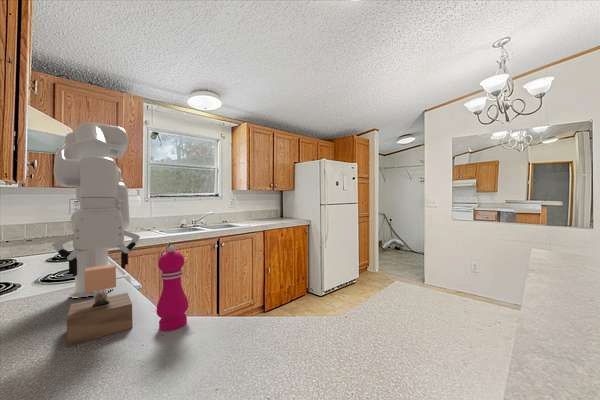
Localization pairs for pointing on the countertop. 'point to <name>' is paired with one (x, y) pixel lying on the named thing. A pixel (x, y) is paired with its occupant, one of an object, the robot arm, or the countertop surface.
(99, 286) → the cardboard-colored cube
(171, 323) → the pepper mill
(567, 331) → the countertop surface
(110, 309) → the post block
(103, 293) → the post
